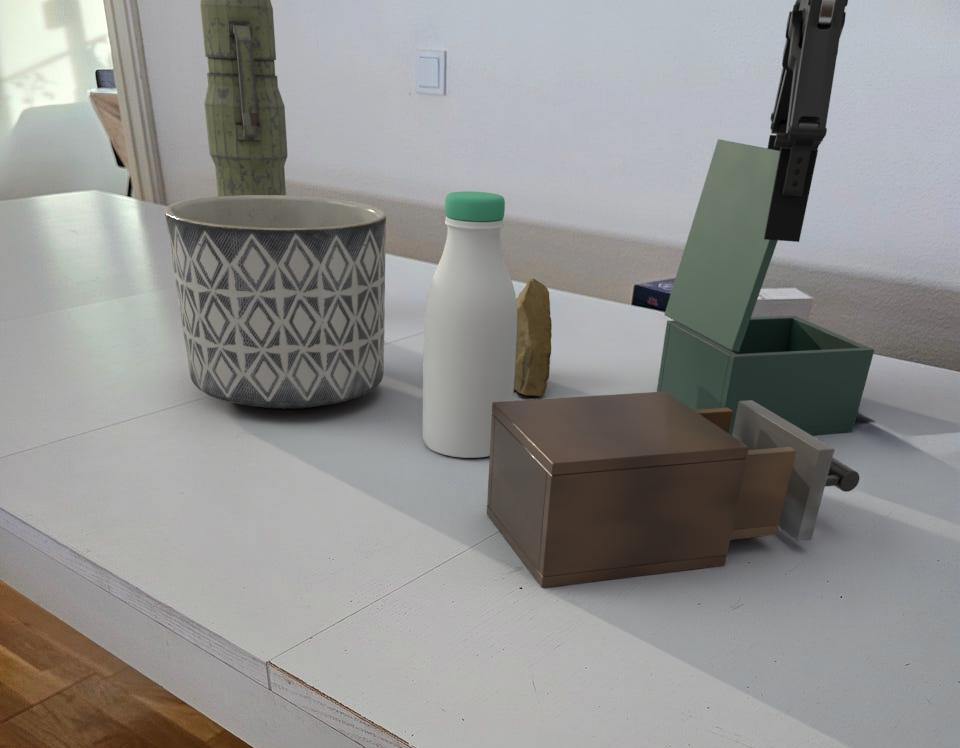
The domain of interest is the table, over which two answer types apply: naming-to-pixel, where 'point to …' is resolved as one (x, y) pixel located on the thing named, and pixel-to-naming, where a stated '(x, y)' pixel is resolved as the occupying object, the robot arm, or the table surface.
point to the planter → (280, 297)
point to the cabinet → (612, 486)
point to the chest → (770, 372)
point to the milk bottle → (468, 329)
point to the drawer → (779, 473)
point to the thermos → (243, 98)
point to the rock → (533, 340)
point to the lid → (727, 245)
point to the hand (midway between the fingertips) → (775, 227)
